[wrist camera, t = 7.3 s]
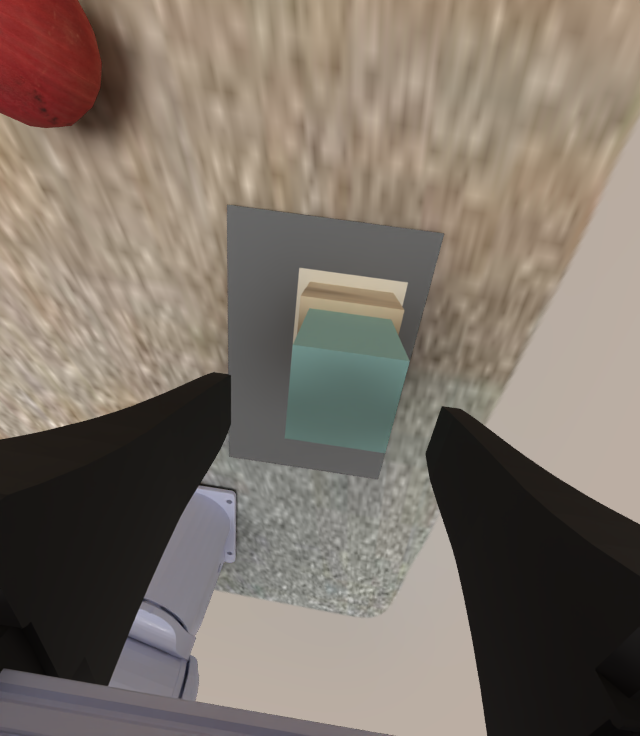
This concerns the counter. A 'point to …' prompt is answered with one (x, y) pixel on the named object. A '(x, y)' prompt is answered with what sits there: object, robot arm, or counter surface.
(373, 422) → the teal block
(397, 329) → the maple block
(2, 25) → the onion
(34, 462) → the robot arm
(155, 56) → the counter surface
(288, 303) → the mat
